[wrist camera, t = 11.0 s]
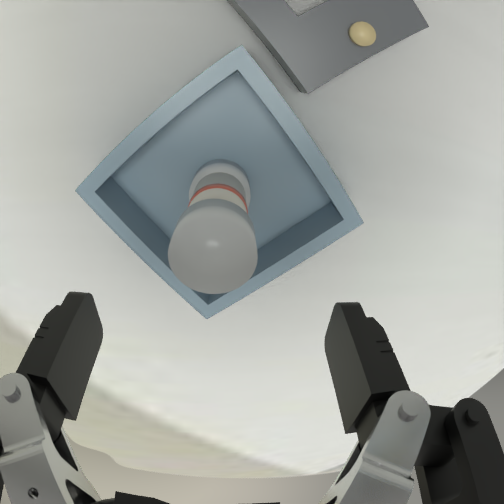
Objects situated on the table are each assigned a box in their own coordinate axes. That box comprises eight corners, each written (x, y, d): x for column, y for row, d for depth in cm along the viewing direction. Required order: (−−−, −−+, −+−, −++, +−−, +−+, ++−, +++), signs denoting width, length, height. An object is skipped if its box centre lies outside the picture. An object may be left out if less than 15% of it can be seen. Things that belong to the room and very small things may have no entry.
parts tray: (240, 50, 17) (241, 44, 14) (345, 199, 23) (363, 222, 20) (98, 170, 21) (75, 190, 18) (209, 286, 27) (206, 319, 23)
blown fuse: (225, 147, 20) (219, 199, 12) (260, 191, 21) (275, 265, 14) (181, 182, 21) (150, 251, 13) (216, 221, 23) (207, 306, 15)
